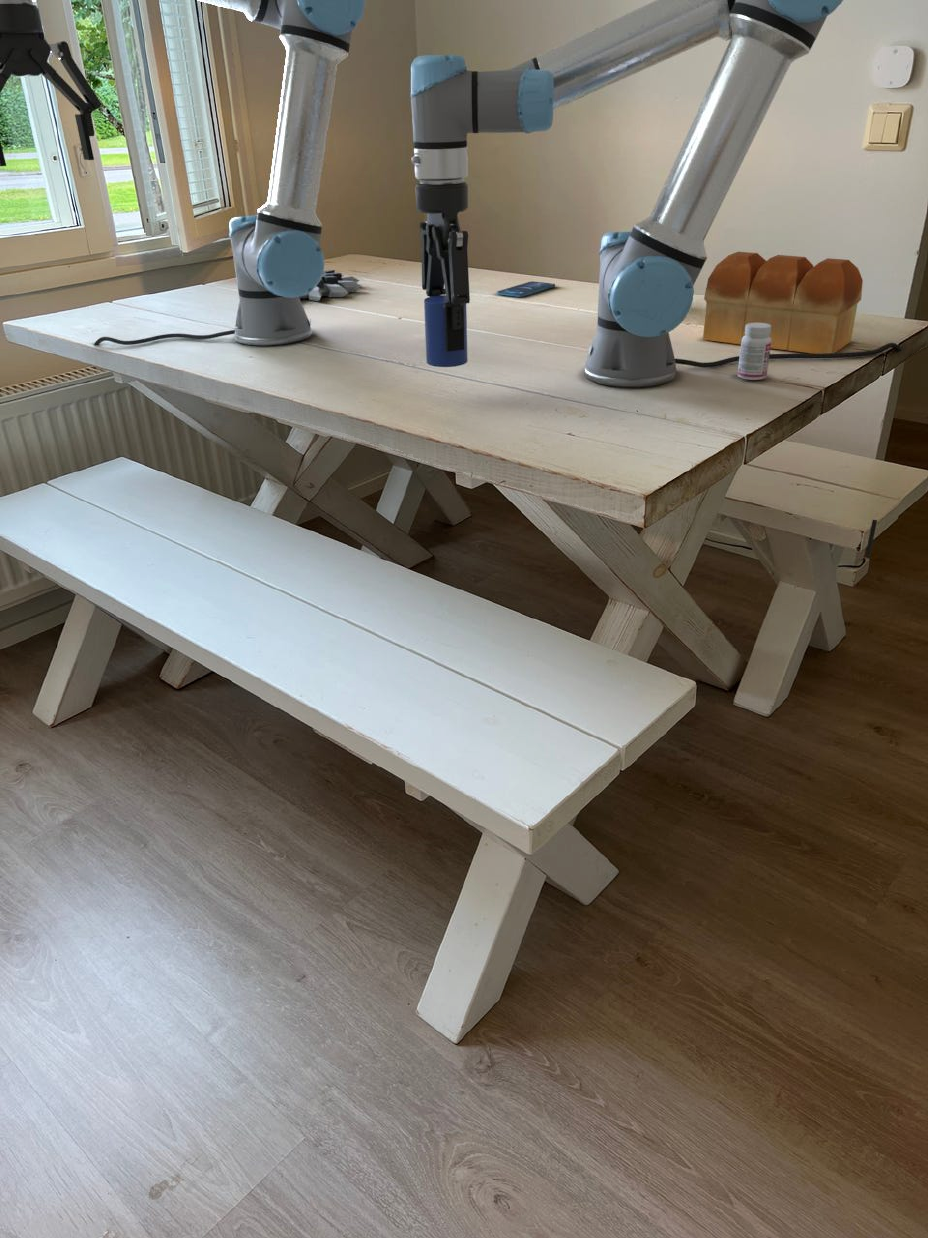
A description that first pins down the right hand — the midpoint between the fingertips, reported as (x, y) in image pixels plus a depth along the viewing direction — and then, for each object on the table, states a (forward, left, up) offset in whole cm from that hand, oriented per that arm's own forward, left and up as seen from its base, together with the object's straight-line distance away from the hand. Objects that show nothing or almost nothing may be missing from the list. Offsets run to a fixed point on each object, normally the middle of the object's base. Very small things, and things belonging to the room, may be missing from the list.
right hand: (446, 344), depth 146 cm
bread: (-68, -15, -9) cm, 70 cm away
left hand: (+56, -35, +26) cm, 71 cm away
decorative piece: (+11, -99, -9) cm, 100 cm away
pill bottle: (-51, +5, -9) cm, 52 cm away
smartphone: (-40, -79, -9) cm, 89 cm away
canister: (0, 0, -3) cm, 3 cm away
